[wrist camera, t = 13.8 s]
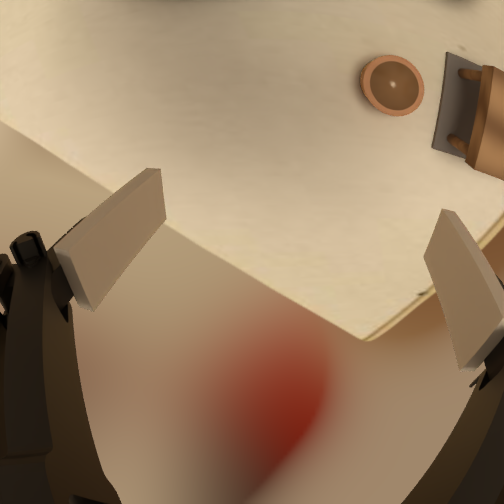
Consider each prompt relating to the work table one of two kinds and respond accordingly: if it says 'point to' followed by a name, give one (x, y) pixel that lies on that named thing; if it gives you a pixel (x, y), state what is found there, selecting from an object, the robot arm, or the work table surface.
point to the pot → (392, 85)
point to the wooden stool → (485, 123)
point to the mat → (456, 105)
